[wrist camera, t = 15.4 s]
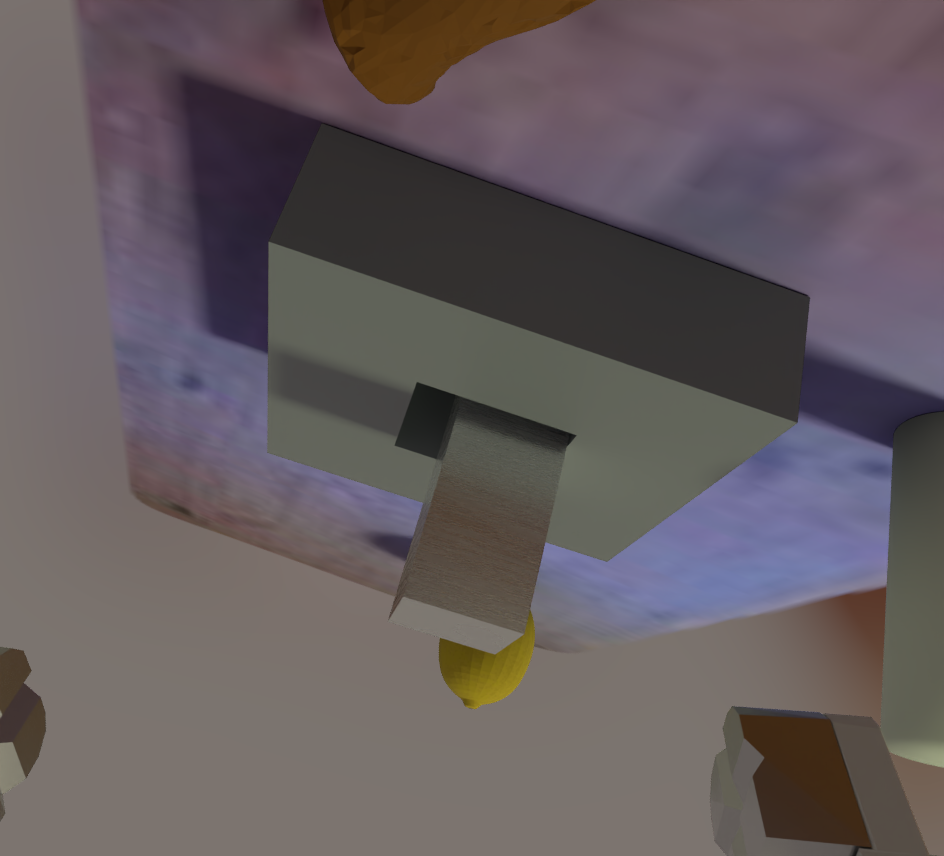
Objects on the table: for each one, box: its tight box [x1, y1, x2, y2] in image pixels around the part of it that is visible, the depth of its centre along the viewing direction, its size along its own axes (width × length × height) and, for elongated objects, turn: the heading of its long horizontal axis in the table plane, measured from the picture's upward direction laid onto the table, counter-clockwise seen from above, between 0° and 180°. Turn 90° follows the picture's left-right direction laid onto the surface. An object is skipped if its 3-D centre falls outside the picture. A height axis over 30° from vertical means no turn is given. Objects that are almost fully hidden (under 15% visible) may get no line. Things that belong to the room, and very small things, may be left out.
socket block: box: [267, 124, 810, 562], centre depth 29 cm, size 14×14×4 cm
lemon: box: [439, 611, 535, 709], centre depth 52 cm, size 6×6×8 cm
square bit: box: [388, 395, 570, 654], centre depth 28 cm, size 4×4×10 cm
